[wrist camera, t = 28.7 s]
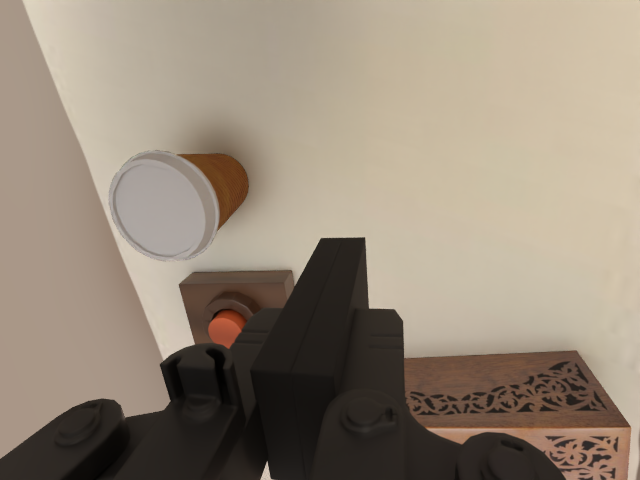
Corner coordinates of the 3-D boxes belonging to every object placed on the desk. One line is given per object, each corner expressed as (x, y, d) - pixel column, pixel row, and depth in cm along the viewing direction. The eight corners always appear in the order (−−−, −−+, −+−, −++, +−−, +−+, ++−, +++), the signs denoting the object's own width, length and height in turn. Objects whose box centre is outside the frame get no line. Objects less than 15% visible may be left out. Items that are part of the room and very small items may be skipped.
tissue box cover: (362, 447, 50) (354, 525, 41) (343, 361, 46) (329, 426, 36) (575, 451, 44) (622, 544, 34) (576, 350, 39) (631, 427, 30)
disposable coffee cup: (253, 233, 42) (202, 281, 31) (178, 208, 43) (101, 245, 32) (271, 153, 38) (219, 174, 27) (187, 126, 39) (104, 136, 28)
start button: (212, 309, 41) (204, 317, 39) (244, 309, 40) (238, 318, 38) (219, 339, 42) (212, 348, 41) (251, 339, 41) (245, 349, 40)
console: (192, 272, 45) (169, 291, 41) (291, 270, 42) (279, 290, 38) (208, 333, 48) (188, 357, 44) (302, 335, 45) (291, 361, 41)
